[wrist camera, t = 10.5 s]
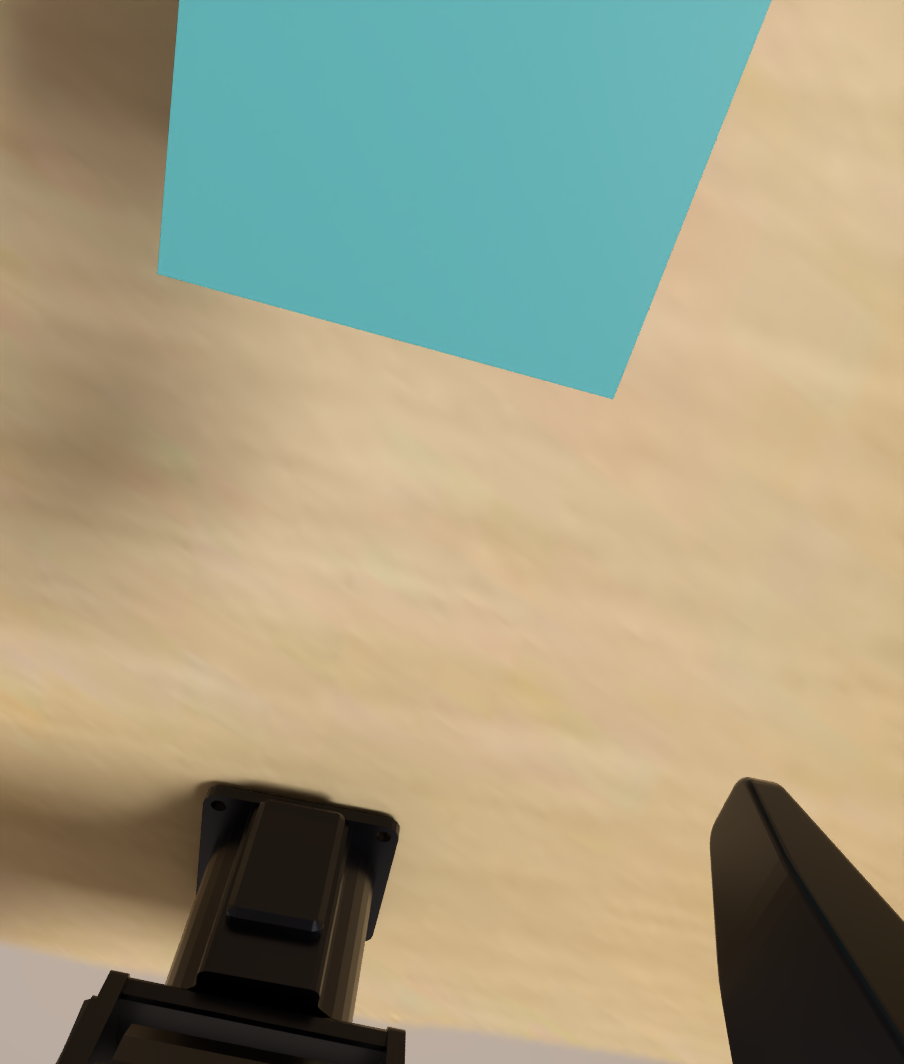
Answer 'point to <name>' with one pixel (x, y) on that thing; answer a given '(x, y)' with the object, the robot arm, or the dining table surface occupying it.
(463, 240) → the teal cube
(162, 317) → the dining table surface
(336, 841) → the robot arm
